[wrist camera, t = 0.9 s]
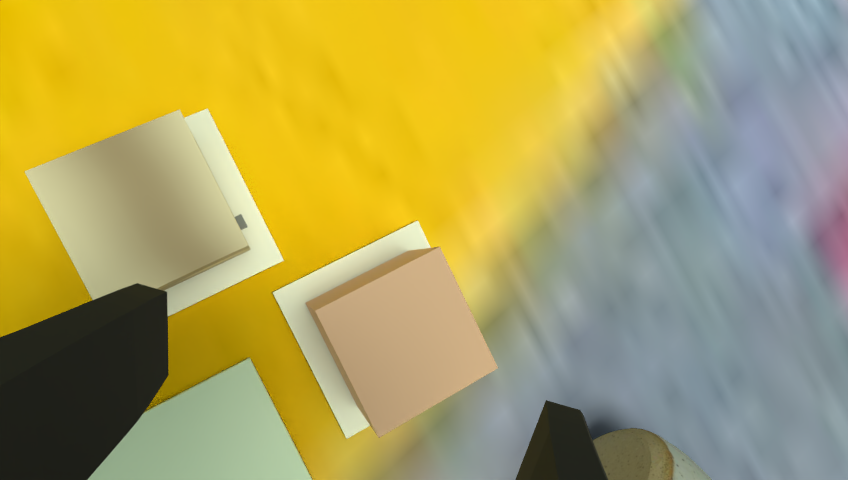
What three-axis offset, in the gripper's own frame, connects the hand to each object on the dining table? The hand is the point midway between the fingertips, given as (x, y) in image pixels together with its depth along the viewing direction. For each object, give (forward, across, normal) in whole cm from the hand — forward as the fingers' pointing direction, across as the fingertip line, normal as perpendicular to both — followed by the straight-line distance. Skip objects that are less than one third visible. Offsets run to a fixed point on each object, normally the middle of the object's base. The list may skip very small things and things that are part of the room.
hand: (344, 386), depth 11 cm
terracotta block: (+13, +1, +8) cm, 16 cm away
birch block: (+12, +11, +5) cm, 17 cm away
